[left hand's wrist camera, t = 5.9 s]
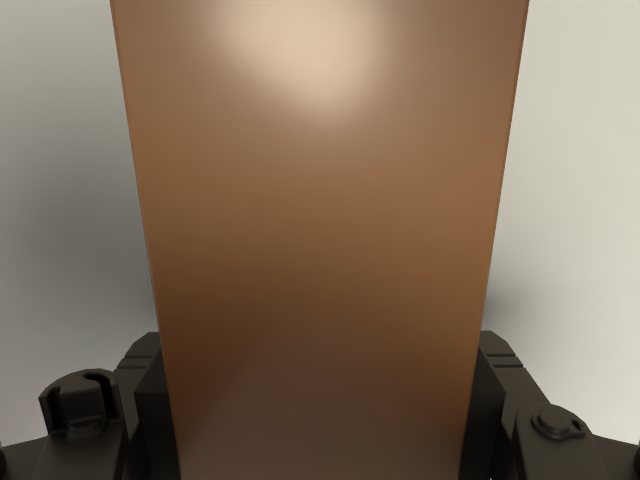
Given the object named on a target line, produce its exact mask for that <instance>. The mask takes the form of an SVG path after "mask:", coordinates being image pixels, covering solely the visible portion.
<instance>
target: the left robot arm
mask: <svg viewBox="0 0 640 480" xmlns="http://www.w3.org/2000/svg"><path fill="white" fill-rule="evenodd" d="M38 399H39V402H40V406H41V409H42V413H43V417H44V420H45V424H46V427H47V431H48V435H47V436H46V437H42V438H39V439H35V440H31V441H27V442H22V443H18V444H14V445H9V446H5V447H2V445H1V442H0V480H181V475H180V468H179V461H178V455H177V448H176V441H175V435H174V428H173V421H172V415H171V408H170V401H169V394H168V388H167V381H166V374H165V368H164V361H163V354H162V348H161V341H160V334H159V332H148V333H147V334H146V335H144V336H143V337H141V338H140V339H138V340H137V341H136V342H134V343H133V344H132V346H131V347H130V349H129V350H128V352H127V353H126V354H125V356H124V358H123V359H122V360H121V361H120V363H119V364H118V366H117V369H115V370H114V371H113V373H112V372H111V371H108V370H104V369H85V370H81V371H77V372H74V373H70V374H68V375H66V376H64V377H62V378H60V379H57V380H56V381H55V382H53V383H52V384H51V385H49V386H48V387H46V388H45V390H44V391H43V392H42V393H41V395H40V396H39V397H38ZM490 479H491V480H640V441H639V444H638V445H634V444H630V443H626V442H621V441H617V440H613V439H608V438H604V437H600V436H597V435H594V434H592V433H591V431H590V430H589V428H588V426H587V425H586V423H585V422H583V421H582V420H581V419H580V418H579V417H577V416H576V415H575V414H574V413H572V412H570V411H568V410H566V409H564V408H562V407H560V406H557V405H553V404H550V402H549V401H548V399H547V398H546V397H545V395H544V394H543V392H542V391H541V389H540V388H539V387H538V385H537V384H536V382H535V381H534V380H533V378H532V377H531V375H530V374H529V373H528V371H527V370H526V368H523V364H522V363H521V361H520V360H519V359H518V357H516V354H515V353H514V352H513V350H512V349H511V347H510V346H509V344H508V343H507V342H506V341H505V340H503V339H502V338H501V337H499V336H498V335H496V334H495V333H494V332H492V331H480V336H479V343H478V350H477V357H476V363H475V370H474V377H473V384H472V390H471V397H470V404H469V411H468V417H467V424H466V431H465V438H464V444H463V451H462V458H461V465H460V471H459V478H458V480H490Z"/></svg>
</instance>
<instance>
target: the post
mask: <svg viewBox="0 0 640 480" xmlns="http://www.w3.org/2000/svg"><path fill="white" fill-rule="evenodd" d="M110 6H111V13H112V19H113V26H114V33H115V39H116V46H117V53H118V59H119V66H120V73H121V80H122V86H123V93H124V100H125V106H126V113H127V120H128V126H129V133H130V140H131V147H132V153H133V160H134V167H135V173H136V180H137V187H138V193H139V200H140V207H141V214H142V220H143V227H144V234H145V240H146V247H147V254H148V260H149V267H150V274H151V281H152V287H153V294H154V301H155V307H156V314H157V321H158V327H159V334H160V341H161V348H162V354H163V361H164V368H165V374H166V381H167V388H168V394H169V401H170V408H171V415H172V421H173V428H174V435H175V441H176V448H177V455H178V461H179V468H180V475H181V480H458V478H459V471H460V465H461V458H462V451H463V444H464V438H465V431H466V424H467V417H468V411H469V404H470V397H471V390H472V384H473V377H474V370H475V363H476V357H477V350H478V343H479V336H480V330H481V323H482V316H483V310H484V303H485V296H486V289H487V283H488V276H489V269H490V262H491V256H492V249H493V242H494V235H495V229H496V222H497V215H498V208H499V202H500V195H501V188H502V181H503V175H504V168H505V161H506V154H507V148H508V141H509V134H510V128H511V121H512V114H513V107H514V101H515V94H516V87H517V80H518V74H519V67H520V60H521V53H522V47H523V40H524V33H525V26H526V20H527V13H528V6H529V0H110Z"/></svg>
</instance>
